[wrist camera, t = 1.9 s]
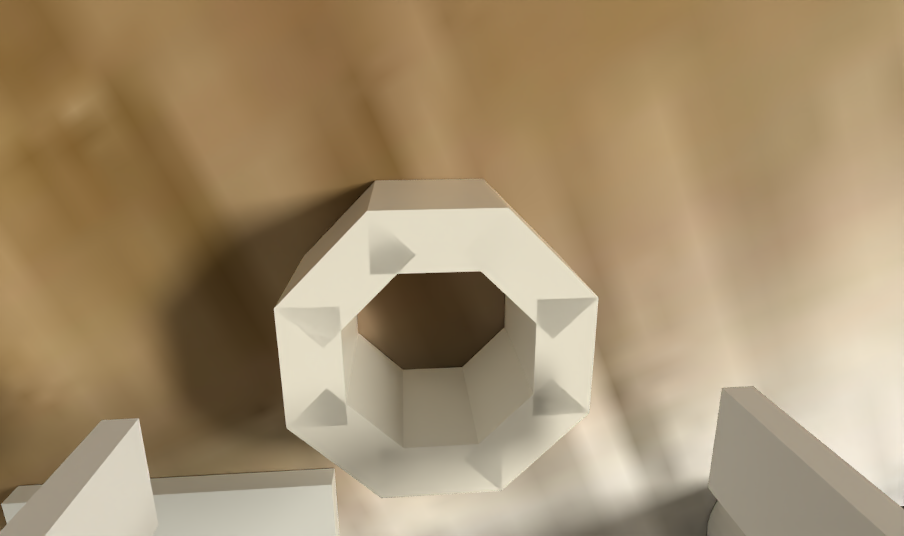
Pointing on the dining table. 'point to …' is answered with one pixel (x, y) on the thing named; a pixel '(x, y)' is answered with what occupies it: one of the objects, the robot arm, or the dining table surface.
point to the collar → (438, 389)
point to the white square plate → (235, 504)
